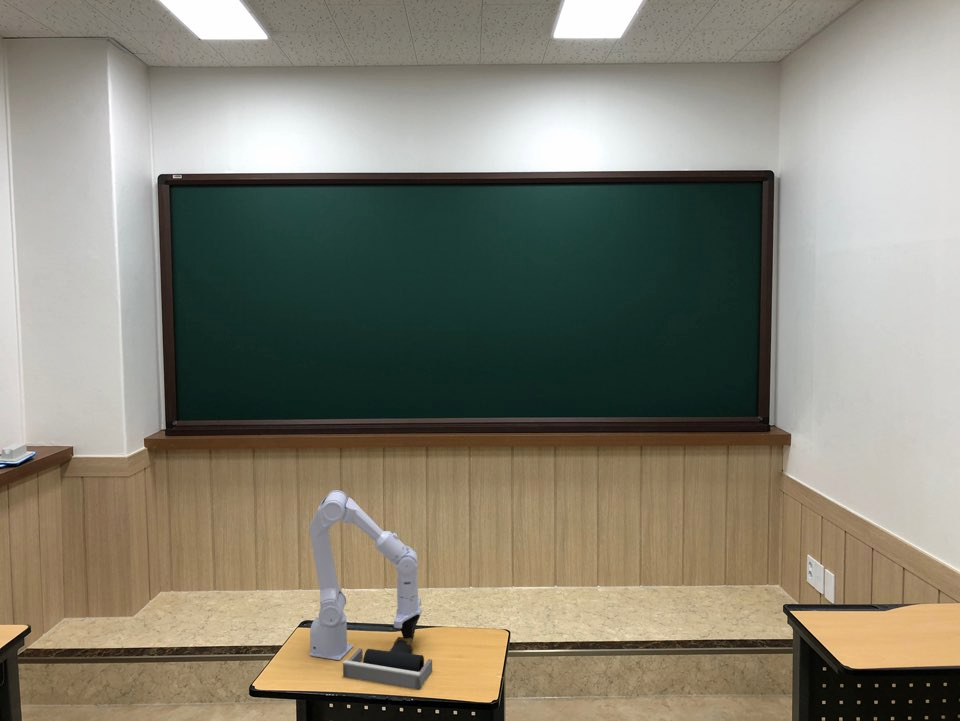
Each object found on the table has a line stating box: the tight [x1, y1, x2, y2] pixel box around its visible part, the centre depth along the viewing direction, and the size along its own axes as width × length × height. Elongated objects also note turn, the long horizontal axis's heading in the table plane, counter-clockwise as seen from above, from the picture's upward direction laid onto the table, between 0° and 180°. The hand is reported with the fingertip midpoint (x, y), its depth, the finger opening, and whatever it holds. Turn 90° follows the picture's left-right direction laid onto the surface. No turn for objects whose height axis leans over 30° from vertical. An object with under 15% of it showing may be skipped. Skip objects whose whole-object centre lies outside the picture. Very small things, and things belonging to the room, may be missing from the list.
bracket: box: [342, 647, 433, 690], centre depth 173 cm, size 21×9×4 cm, turn 73°
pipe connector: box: [362, 636, 425, 672], centre depth 177 cm, size 12×5×15 cm
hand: (408, 641), depth 186 cm, fingers closed
